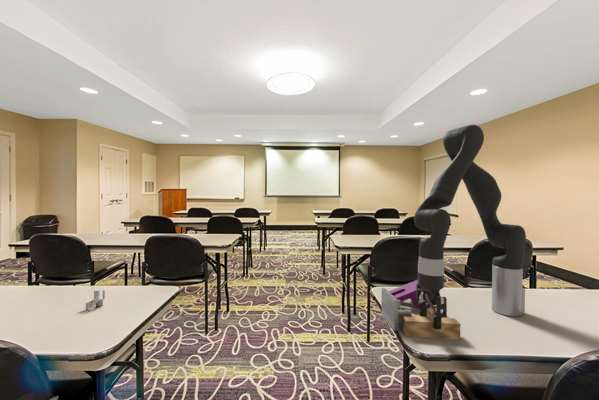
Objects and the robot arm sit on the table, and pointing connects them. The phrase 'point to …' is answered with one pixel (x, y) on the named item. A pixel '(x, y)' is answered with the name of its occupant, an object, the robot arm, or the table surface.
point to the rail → (431, 327)
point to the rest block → (431, 313)
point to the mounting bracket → (407, 293)
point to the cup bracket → (393, 310)
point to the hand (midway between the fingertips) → (429, 322)
